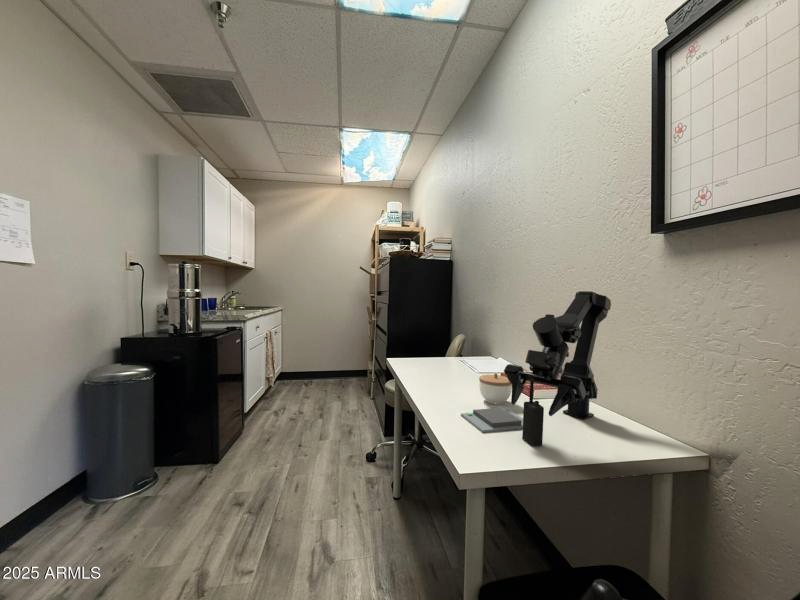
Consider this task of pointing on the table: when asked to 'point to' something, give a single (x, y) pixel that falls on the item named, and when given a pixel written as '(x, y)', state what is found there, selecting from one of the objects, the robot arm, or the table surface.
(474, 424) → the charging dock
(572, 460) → the table surface
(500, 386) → the lidded jar
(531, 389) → the walkie-talkie
